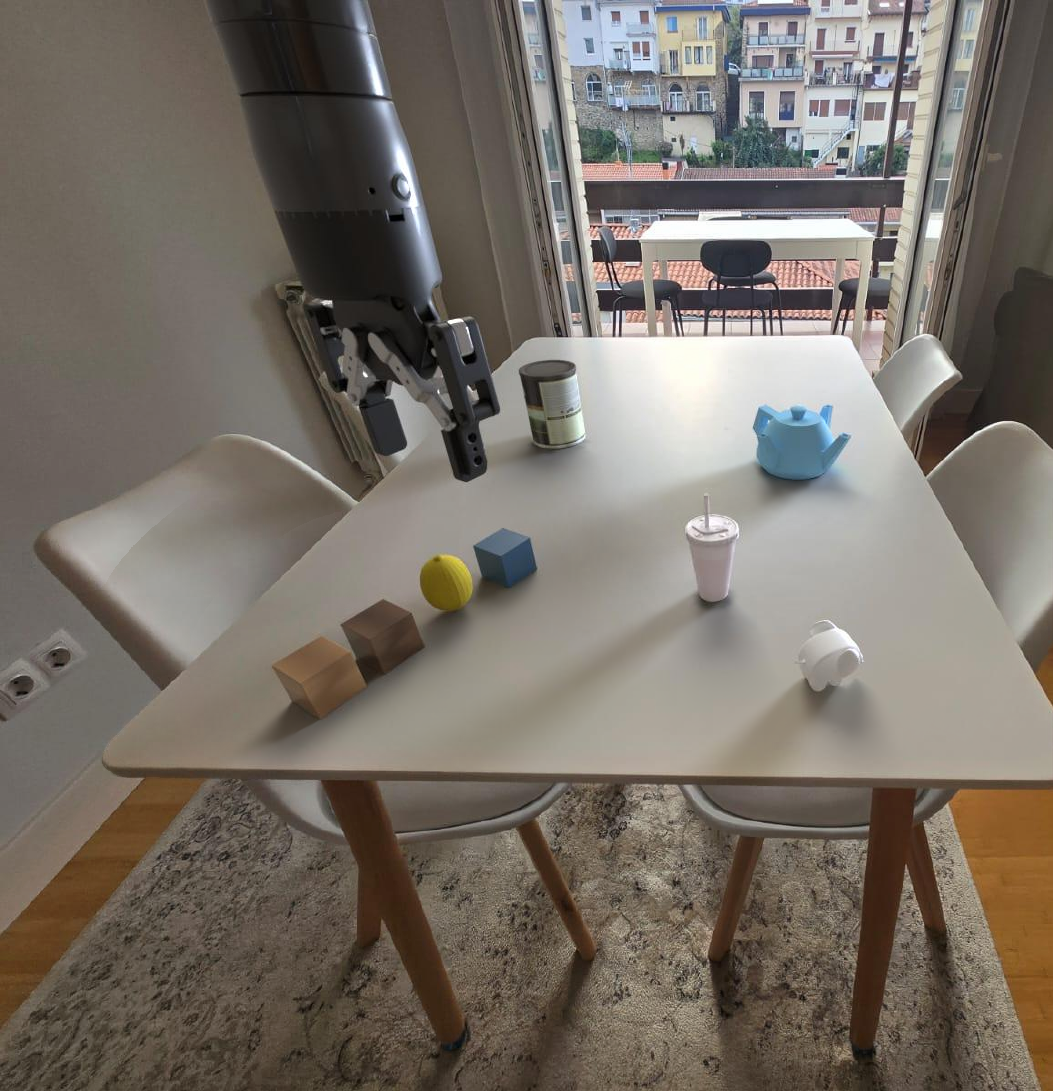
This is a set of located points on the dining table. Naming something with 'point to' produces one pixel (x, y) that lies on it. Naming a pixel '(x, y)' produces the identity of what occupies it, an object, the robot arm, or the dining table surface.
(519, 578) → the block
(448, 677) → the dining table surface
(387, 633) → the block
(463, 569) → the lemon
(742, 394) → the dining table surface
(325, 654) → the block
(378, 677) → the dining table surface
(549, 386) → the coffee can
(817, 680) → the white rounded piece
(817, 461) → the teapot
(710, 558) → the smoothie
